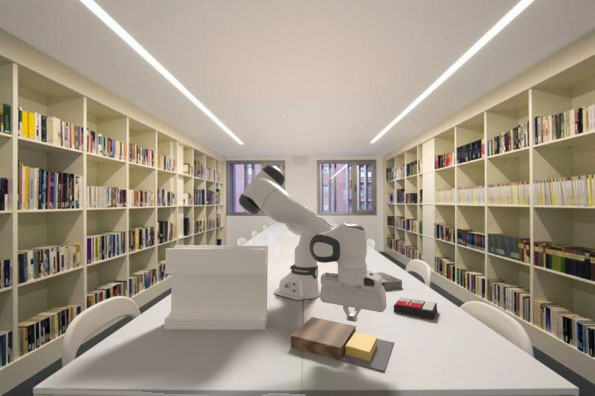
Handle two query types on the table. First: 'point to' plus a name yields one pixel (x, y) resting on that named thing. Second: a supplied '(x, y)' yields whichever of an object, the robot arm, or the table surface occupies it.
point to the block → (217, 287)
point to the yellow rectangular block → (361, 346)
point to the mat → (374, 357)
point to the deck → (323, 337)
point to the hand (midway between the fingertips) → (351, 320)
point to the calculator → (416, 308)
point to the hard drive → (390, 281)
